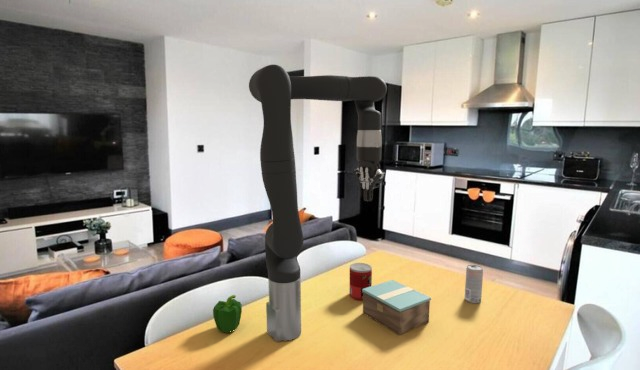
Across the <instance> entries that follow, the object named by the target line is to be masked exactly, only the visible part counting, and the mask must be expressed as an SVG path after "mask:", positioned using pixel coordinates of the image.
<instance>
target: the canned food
mask: <svg viewBox="0 0 640 370" xmlns="http://www.w3.org/2000/svg"><path fill="white" fill-rule="evenodd" d="M372 280H373V268H372V266H371V265H370V264H368V263H364V262H355V263H354V262H353V263H352V264H350V265H349V296H350V297H351V298H352V299H353V298H354V299H353V300H356V301H363V293H364V292H363V291H362V289H364V288H367V287H371V286H373V283H372Z"/></svg>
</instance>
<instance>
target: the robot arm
mask: <svg viewBox="0 0 640 370" xmlns="http://www.w3.org/2000/svg"><path fill="white" fill-rule="evenodd" d="M248 90H249V93H250V94H251V96H252V97H253V98H254V99H255V100H256V101H258V102H260V103H261V109H262V118H263V119H262V120H263V127H262V136H261V141H260V149H259V151H260V152H259V156H260V157H259V159H260V160H259V161H260V170H261V178H262V182H263V186H264V189H265V193H266V196H267V199H268V201H269V205H270V208H271V214H272V216H271V217H272V223H271V224H270V225H268V227H267V229H266V232H265V235H264V248H265V251H264V252H265V265H266V271H267V276H268V277H267V278H268V282H267V283H268V301H267V302H266V305H265V306H266V308H265V309H266V333H267V332H268V333H269V334H270V335H269V334H268V333H267V334H268V335H269V337H270V338H272V337H273V338H272V340H273V341H275V342H276V341H278V342H281V341H280V340H284V341H283V342H288V341H287V340H289V341H293V340H296V339H297V338H299V337H300V335H301V333H302V306H301V305H302V295H301V294H302V291H301V289H302V285H301V283H302V282H301V280H302V279H301V278H302V277H301V267H300V264H299V261H298V257H297V256H298V255H300V252H301V251H302V249H303V246H304V235H303V228H302V223H301V218H300V211H299V206H298V204H299V203H298V187H297V186H298V185H297V172H296V171H297V169H296V157H295V148H294V138H293V130H292V129H293V128H292V117H291V116H292V115H291V112H292V110H291V108H292V100H314V101H330V102H348V101H349V102H350V101H354V104H355V109H356V110H355V111H356V113H357V118H358V119H357V133H356V160H357V161H358V165H357V168H356V169H353V170H352V173H353V175H354V177H355V180H356V182H357V185H358V186H359V187H361V188H362V189H363V200H364V201H365V202H372V201H373V198H374V189H377V188H379V187H380V185H381V183H382V182H383V180H384V179H385V177H386V172H383V171H381V165H380V161H381V160H382V148H383V147H382V144H383V143H382V140H383V139H382V113H381V112H380V111H378V110H376V107H375V102H378V101H381V100H382V99H383V98H384V97H385V96H386V94H387V92H388V86H387V83H386V82H385V80H384V79H382V78H381V77H379V76H373V75H372V76H371V75H369V76H367V75H366V76H348V75H347V76H346V75H330V74H329V75H327V74H326V75H325V74H323V75H313V76H312V75H311V76H301V75H300V76H299V75H298V76H297V75H289V73H288V72H287V71H286V69H284V67H282V66H281V65H278V64H268V65H266V66H263V67H261V68H259V69H257V70H256V71H255V72H253V74H252V75H251V77H250V79H249V82H248ZM292 339H293V340H292Z"/></svg>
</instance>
